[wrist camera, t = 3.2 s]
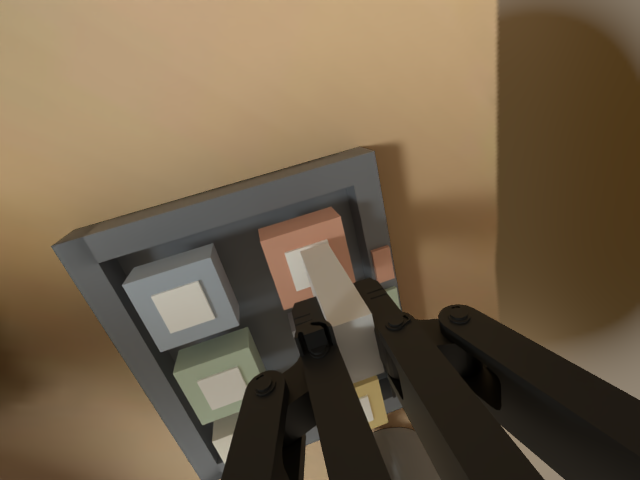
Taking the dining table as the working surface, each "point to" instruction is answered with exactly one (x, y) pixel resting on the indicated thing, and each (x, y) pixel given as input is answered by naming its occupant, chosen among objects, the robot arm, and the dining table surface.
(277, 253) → the key terracotta
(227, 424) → the key cream
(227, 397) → the key sage
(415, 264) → the dining table surface
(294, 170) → the keypad board
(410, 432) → the coffee mug
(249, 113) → the dining table surface
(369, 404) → the key ochre
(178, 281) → the key slate
